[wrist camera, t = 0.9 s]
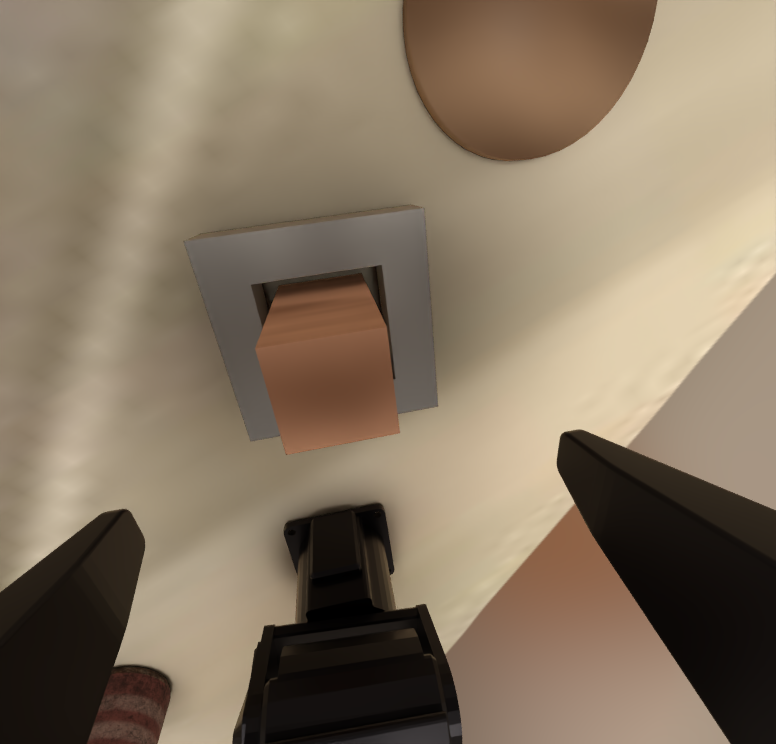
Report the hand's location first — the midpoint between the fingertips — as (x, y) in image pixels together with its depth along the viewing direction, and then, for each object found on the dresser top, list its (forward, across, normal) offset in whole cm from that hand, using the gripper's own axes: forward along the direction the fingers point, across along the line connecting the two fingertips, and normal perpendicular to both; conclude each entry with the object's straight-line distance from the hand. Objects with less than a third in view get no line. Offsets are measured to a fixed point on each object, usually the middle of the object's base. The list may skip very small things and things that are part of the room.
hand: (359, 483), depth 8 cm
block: (+13, 0, +1) cm, 13 cm away
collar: (+13, 0, +1) cm, 13 cm away
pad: (+13, -9, -11) cm, 19 cm away
